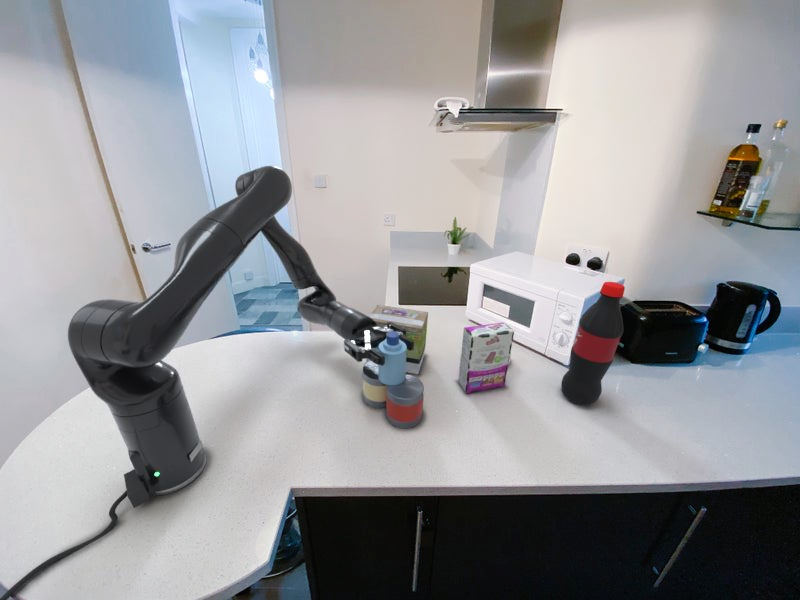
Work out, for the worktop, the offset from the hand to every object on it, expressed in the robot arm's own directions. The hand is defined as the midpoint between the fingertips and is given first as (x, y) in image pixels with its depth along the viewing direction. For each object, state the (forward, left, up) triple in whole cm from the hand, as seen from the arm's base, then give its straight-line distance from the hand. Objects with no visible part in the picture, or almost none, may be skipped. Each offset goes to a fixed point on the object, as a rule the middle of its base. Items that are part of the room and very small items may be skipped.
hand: (398, 353), depth 66 cm
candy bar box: (+22, -8, -15) cm, 28 cm away
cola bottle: (+36, -27, -15) cm, 48 cm away
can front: (0, -2, -15) cm, 15 cm away
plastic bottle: (0, +2, -7) cm, 7 cm away
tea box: (+13, +14, -15) cm, 24 cm away
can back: (0, +6, -15) cm, 16 cm away
